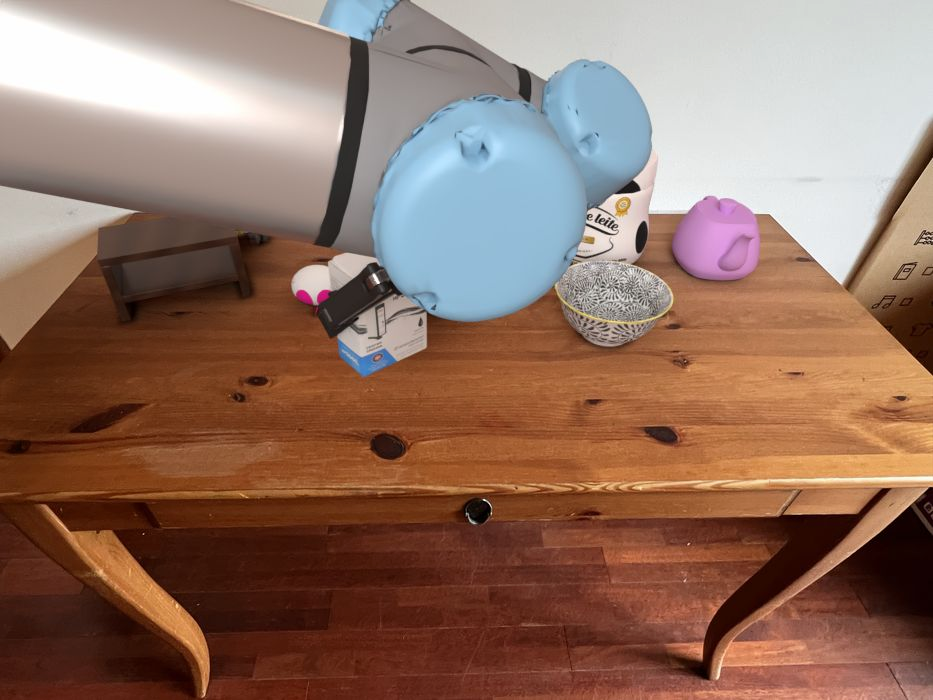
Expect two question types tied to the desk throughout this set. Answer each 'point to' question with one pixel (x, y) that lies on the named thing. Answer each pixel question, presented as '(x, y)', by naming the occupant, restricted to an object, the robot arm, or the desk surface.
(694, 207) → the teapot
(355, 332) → the ink box
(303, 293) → the stress ball
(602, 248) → the doce de leite jar
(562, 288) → the bowl
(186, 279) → the shelf
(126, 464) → the desk surface
